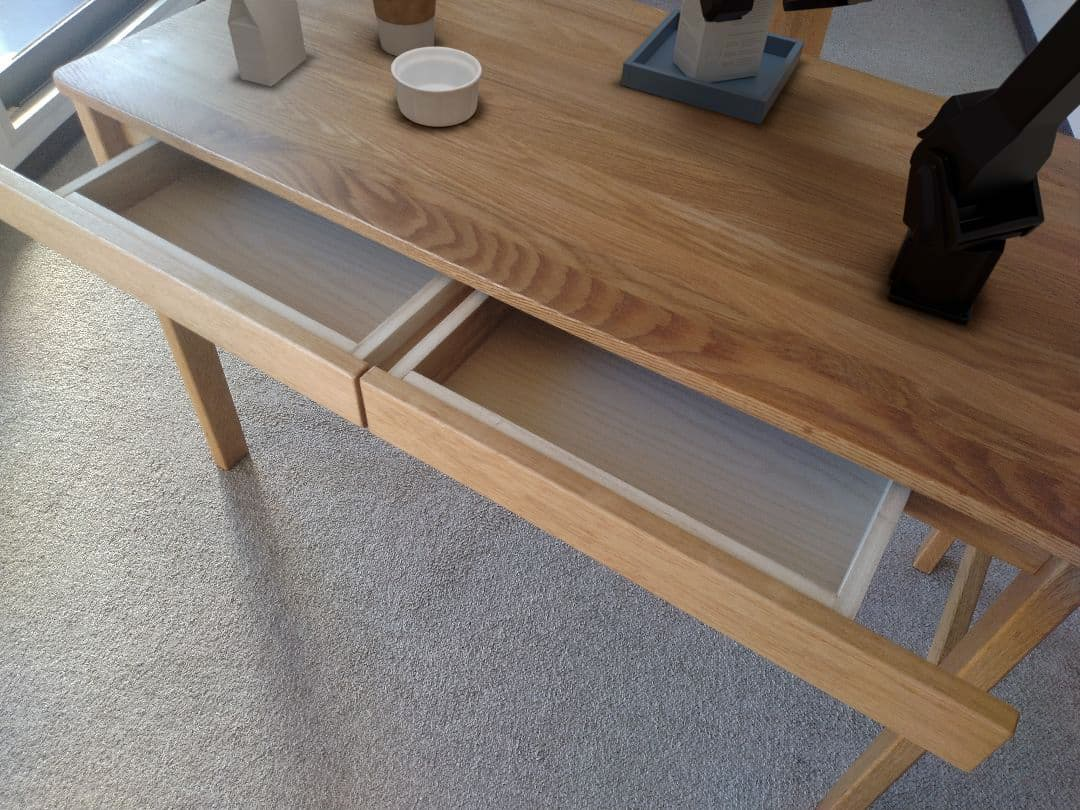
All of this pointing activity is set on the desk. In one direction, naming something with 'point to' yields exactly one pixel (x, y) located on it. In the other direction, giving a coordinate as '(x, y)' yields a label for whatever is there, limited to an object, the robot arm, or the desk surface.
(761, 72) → the tray
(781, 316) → the desk surface
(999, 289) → the desk surface
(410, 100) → the ramekin
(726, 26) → the small box
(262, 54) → the grey carton
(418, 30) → the coffee cup
